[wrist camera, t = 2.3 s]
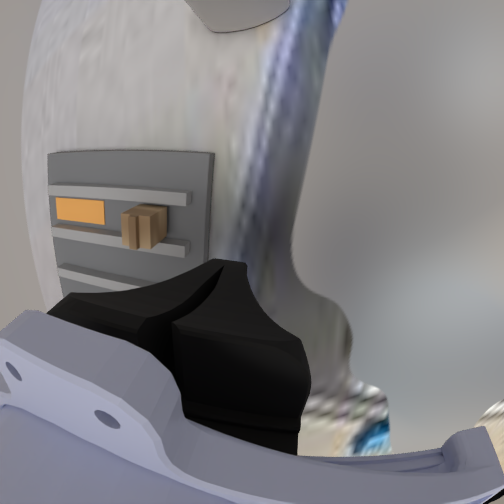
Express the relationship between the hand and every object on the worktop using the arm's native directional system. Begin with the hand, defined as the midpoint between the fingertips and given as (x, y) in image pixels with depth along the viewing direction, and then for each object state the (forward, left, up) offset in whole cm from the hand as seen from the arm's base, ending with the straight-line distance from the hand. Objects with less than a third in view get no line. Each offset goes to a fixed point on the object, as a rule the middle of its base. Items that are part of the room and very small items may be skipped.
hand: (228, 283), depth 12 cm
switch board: (-4, +10, -8) cm, 14 cm away
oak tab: (0, +6, -7) cm, 9 cm away
